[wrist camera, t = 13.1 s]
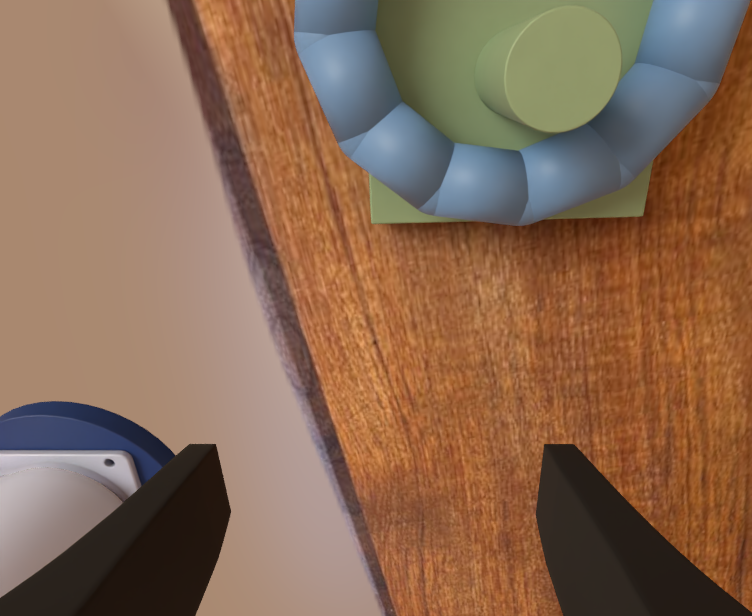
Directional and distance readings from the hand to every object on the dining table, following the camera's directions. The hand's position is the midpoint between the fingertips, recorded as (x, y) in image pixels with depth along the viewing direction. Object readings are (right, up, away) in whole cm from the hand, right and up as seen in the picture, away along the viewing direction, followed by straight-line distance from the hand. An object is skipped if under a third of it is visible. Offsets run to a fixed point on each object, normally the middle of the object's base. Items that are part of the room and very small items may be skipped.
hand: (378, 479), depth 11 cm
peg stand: (+4, +11, +5) cm, 13 cm away
